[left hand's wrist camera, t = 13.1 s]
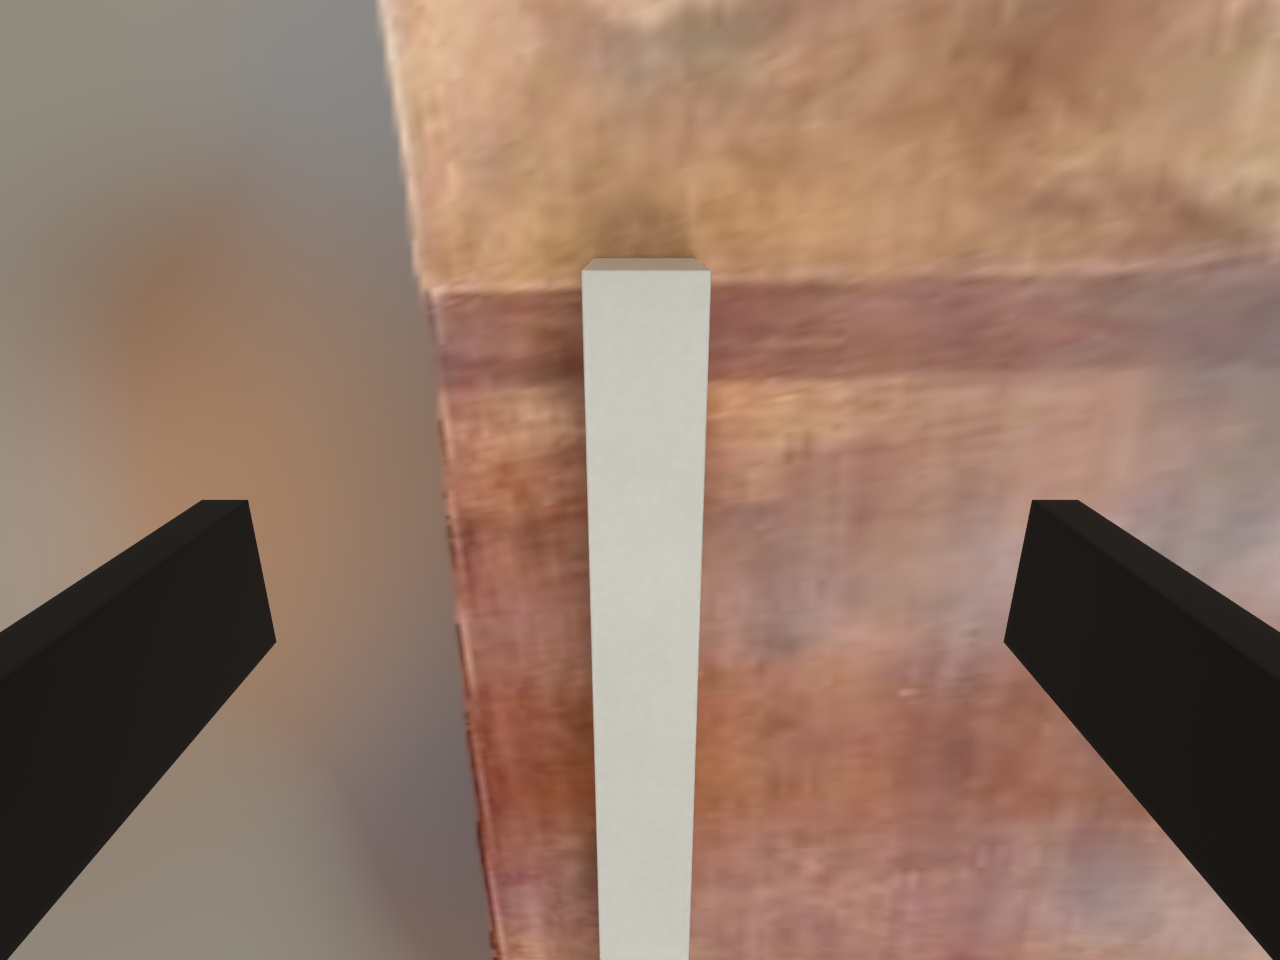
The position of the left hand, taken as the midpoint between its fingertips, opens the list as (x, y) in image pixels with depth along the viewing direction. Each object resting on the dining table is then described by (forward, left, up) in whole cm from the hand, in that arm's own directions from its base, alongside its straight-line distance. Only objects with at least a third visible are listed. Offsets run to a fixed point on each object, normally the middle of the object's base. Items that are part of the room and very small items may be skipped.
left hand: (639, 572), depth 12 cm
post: (-34, +7, -26) cm, 43 cm away
